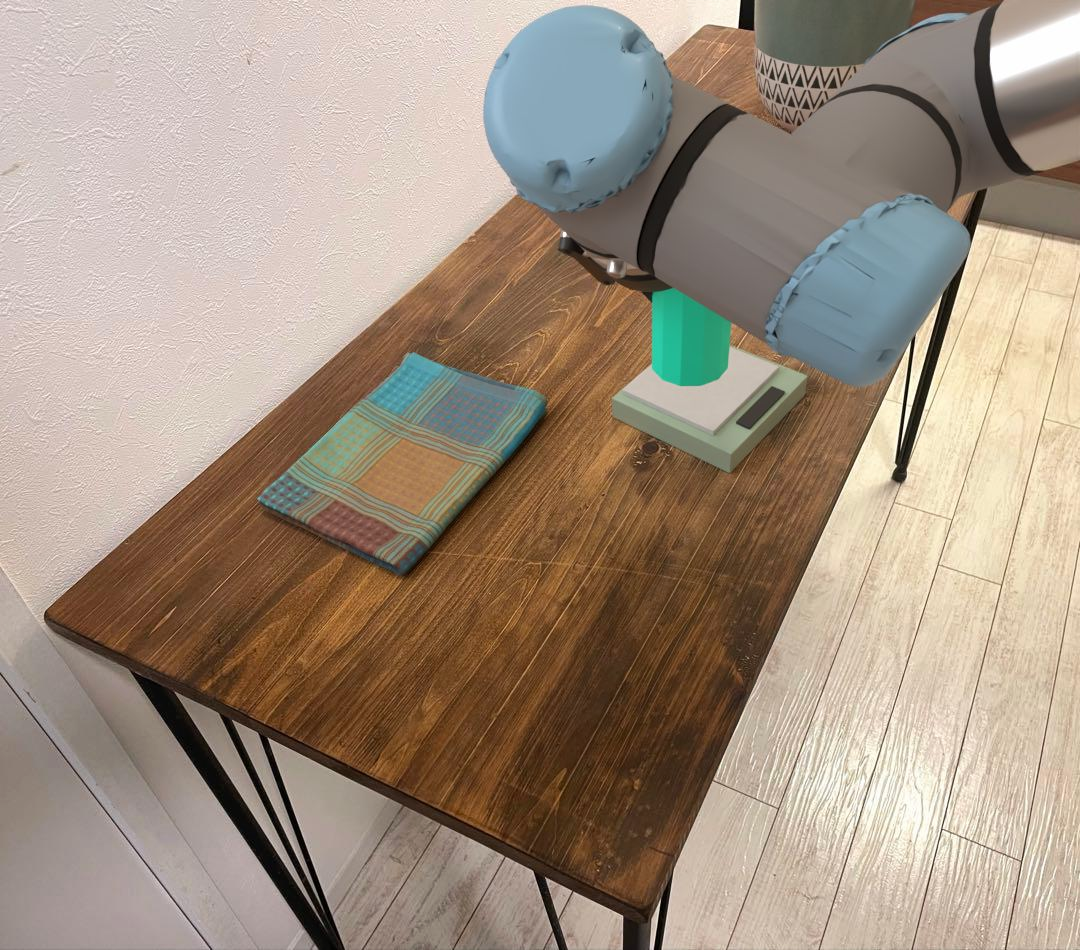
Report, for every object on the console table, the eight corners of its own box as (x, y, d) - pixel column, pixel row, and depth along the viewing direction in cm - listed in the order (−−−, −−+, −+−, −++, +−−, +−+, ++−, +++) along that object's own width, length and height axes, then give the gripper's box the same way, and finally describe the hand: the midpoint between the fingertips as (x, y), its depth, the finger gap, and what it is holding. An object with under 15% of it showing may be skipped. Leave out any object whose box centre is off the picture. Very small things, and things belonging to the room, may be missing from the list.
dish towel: (555, 412, 88) (553, 392, 86) (407, 582, 75) (401, 562, 73) (414, 364, 95) (410, 344, 94) (256, 511, 82) (248, 491, 80)
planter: (890, 166, 116) (925, -17, 101) (733, 157, 121) (744, -18, 106) (897, 101, 129) (930, -70, 114) (755, 95, 134) (768, -69, 119)
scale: (805, 395, 87) (809, 370, 84) (729, 473, 80) (732, 449, 78) (690, 348, 93) (691, 324, 91) (612, 417, 87) (611, 392, 85)
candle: (661, 334, 74) (663, 198, 66) (735, 345, 72) (747, 206, 64) (641, 380, 70) (641, 241, 62) (719, 392, 68) (729, 251, 60)
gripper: (476, 259, 52) (582, 329, 74) (800, 299, 47) (811, 362, 69) (500, 128, 52) (600, 237, 74) (829, 153, 46) (830, 263, 68)
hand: (701, 297), depth 71 cm, fingers closed on candle, 5 cm apart
